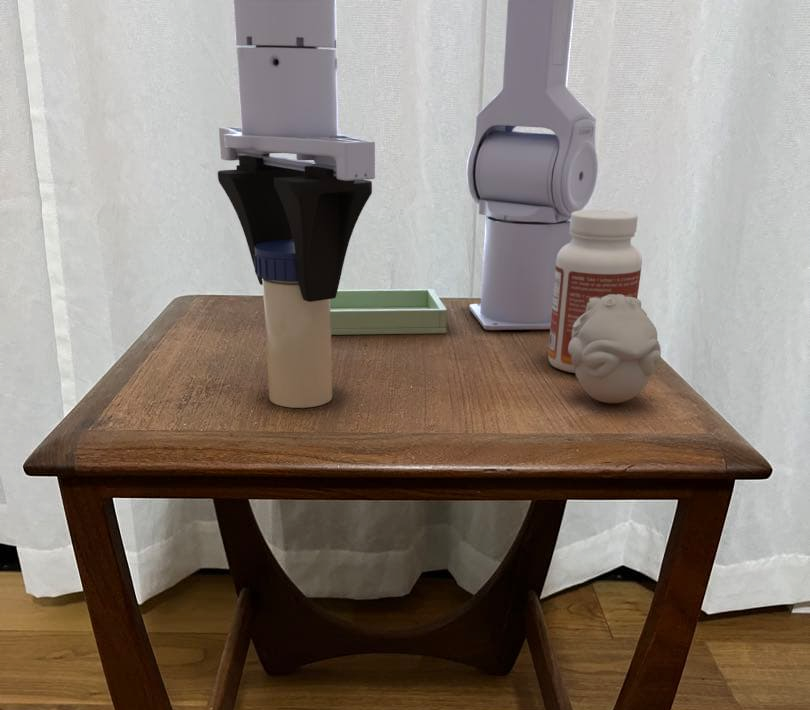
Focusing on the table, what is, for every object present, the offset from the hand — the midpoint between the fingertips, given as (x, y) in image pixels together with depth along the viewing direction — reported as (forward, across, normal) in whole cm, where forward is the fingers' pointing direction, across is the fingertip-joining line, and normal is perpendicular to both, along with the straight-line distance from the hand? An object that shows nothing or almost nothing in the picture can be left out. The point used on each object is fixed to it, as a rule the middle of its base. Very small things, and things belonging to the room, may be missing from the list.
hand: (296, 290), depth 56 cm
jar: (+7, 0, 0) cm, 7 cm away
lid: (-2, 0, 0) cm, 2 cm away
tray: (+7, -14, +16) cm, 22 cm away
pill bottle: (+7, +6, +22) cm, 24 cm away
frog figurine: (+7, +13, +17) cm, 22 cm away
